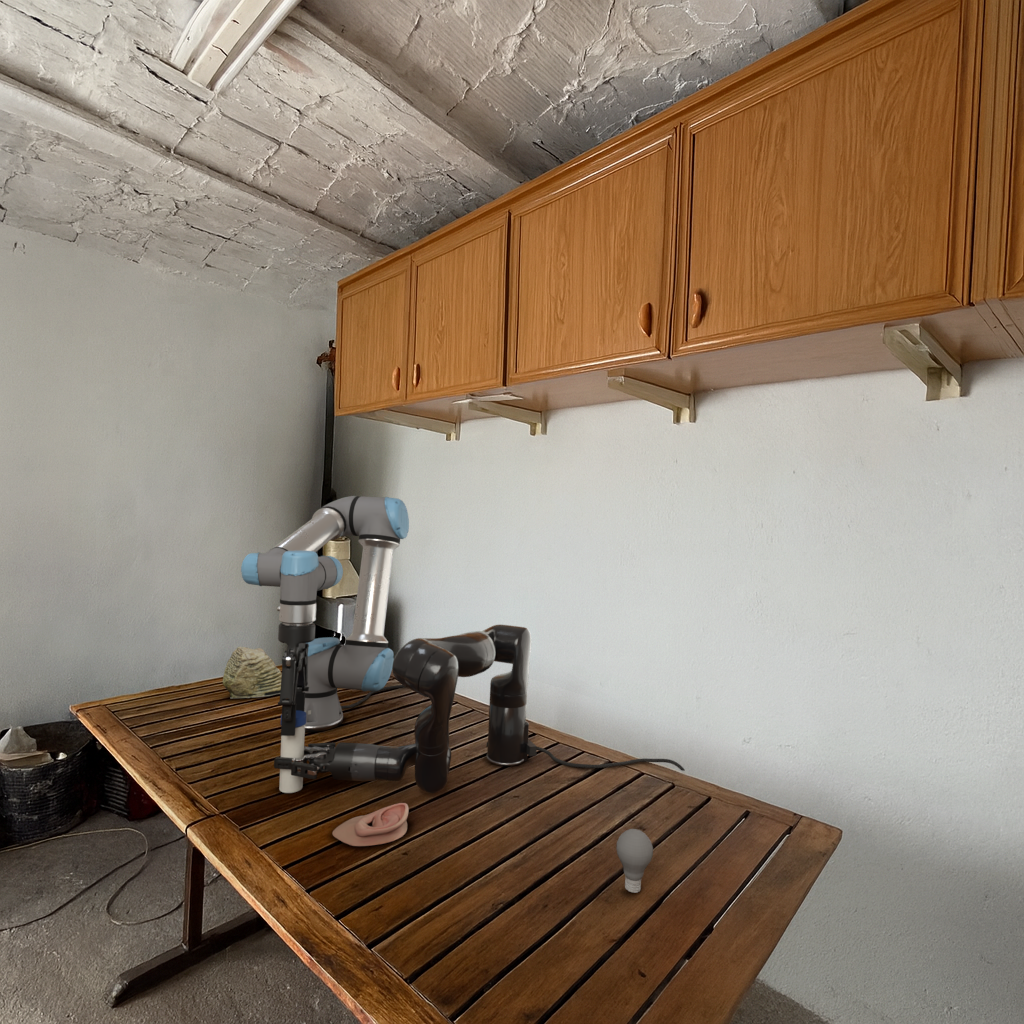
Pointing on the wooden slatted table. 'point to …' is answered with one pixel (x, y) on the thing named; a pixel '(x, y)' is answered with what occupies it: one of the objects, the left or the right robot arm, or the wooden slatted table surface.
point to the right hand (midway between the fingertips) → (280, 757)
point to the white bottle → (292, 749)
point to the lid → (299, 718)
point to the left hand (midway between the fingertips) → (292, 728)
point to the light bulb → (634, 857)
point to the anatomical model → (374, 826)
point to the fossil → (251, 674)
